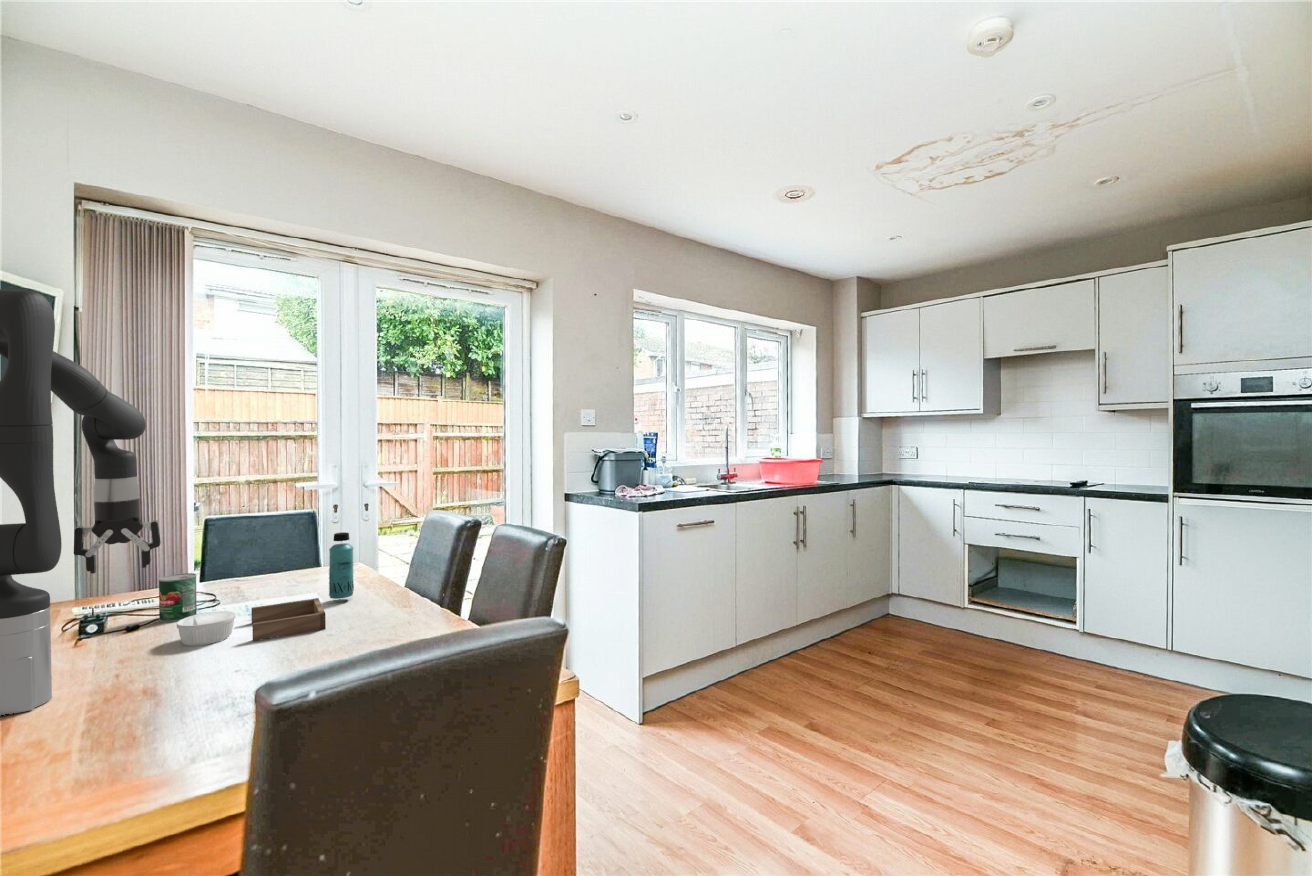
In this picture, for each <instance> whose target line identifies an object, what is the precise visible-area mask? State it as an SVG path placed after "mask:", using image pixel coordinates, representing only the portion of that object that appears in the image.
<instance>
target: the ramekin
mask: <svg viewBox="0 0 1312 876" xmlns="http://www.w3.org/2000/svg"><path fill="white" fill-rule="evenodd" d="M235 619H236V613H235V612H233V611H230V610H220V611H219V610H217V611H209V612H203V613H197V615H193V616H190V617H187V618H184V619H182V620H180V621H176V629H178V634H179V638H180V642H181V643H182V644H183V645H184V646H186V647H187V646H189V647H197V646H206V645H211V643H212V644H216V643H219V642H222V641H224V639H225V640H227V639H228V638H229V637H230V636H231V635H232V634H233V629H234V628H233V627H234V622H235ZM227 637H228V638H227ZM221 640H222V641H221ZM218 641H219V642H218ZM215 642H216V643H215Z"/></svg>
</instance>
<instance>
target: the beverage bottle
mask: <svg viewBox="0 0 1312 876" xmlns="http://www.w3.org/2000/svg"><path fill="white" fill-rule="evenodd" d="M333 541H334V542H343V543H335V544H333V545H332V546H331V547H330V548H329V549H328V550H329V568H328V576H329V577H328V592H329V593H328V597H329V598H330V599H333V600H336V599H337V600H338V599H346V598H350V597H352V596H353V595H354V588H355V584H354V577H355V576H354V565H355V564H354V546H353V545H352V544H350V543H346V542H345V541H350V533H349V532H336V533H334V534H333ZM344 542H345V543H344Z"/></svg>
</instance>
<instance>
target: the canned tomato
mask: <svg viewBox="0 0 1312 876" xmlns="http://www.w3.org/2000/svg"><path fill="white" fill-rule="evenodd" d="M197 608H198V607H197V574H196V573H193V572H185V573H176V574H175V573H174V574H169V575H166V576H162V577H161V576H160V577H159V578H158V609H159V610H158V616H159V619H158V621H159V622H161V623H174V622H175V621H176V622H178V621H180V620H182V619H184V618H187V617H190V616H193V615H197V614H198V613H197V610H198V609H197Z"/></svg>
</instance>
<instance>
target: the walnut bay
mask: <svg viewBox="0 0 1312 876" xmlns="http://www.w3.org/2000/svg"><path fill="white" fill-rule="evenodd" d="M250 613H251V625H252V642H257V641H256V640H258V641H261V640H260V639H264V640H267V639H266V638H270V637H276V638H278V637H277V636H282V637H286V636H287V635H288V636H292V635H293V636H294V635H298V633H299V634H304V633H303V632H305V633H309V631H311V632H316V631H315V630H317V631H321V629H323V630H326V624H327V623H326V612H325V610H324V607H323V605H322V603H321V601H320V599H319V597H316V598H310V599H309V598H308V599H303V600H296V601H289V602H281V603H274V604H267V605H260V606H254V607H253V606H252V607H251V612H250ZM270 639H271V638H270Z"/></svg>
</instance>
